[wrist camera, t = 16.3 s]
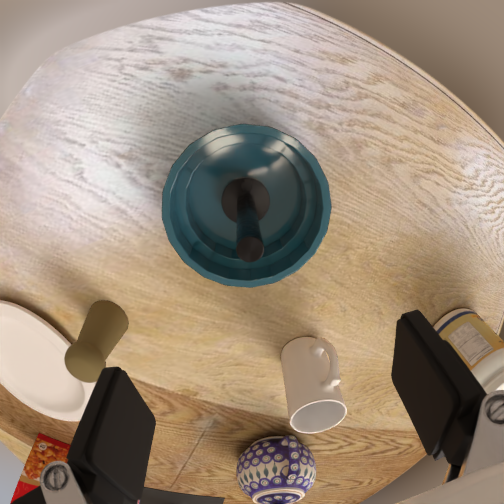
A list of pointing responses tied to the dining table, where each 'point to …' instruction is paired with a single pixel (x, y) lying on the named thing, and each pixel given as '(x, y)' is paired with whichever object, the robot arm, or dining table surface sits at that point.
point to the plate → (38, 365)
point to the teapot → (276, 470)
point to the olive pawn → (96, 341)
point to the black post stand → (246, 214)
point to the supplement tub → (475, 346)
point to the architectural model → (175, 498)
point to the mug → (312, 385)
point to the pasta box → (40, 463)
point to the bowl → (224, 230)
